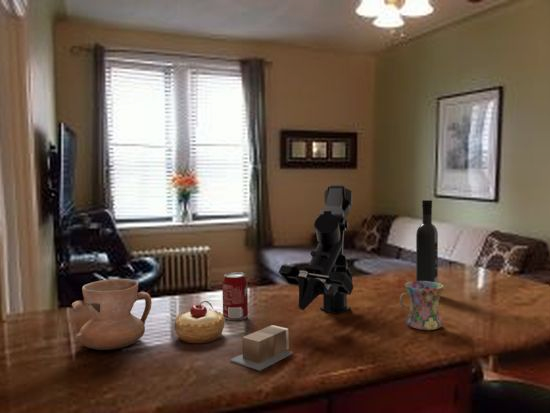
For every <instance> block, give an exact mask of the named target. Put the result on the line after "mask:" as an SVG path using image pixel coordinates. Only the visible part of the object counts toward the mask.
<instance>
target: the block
mask: <svg viewBox="0 0 550 413" xmlns="http://www.w3.org/2000/svg"><path fill="white" fill-rule="evenodd" d="M289 336H290V335H289V328H287V327H283V326H278V325H275V324H274V325H273V324H271V325H269V326H266V327H264V328H262V329H259V330H257V331H255V332H252V333H249V334H247V335H244V336H242V339H241V341H242V342H241V343H242V344H241V345H242V354H243V359H247V360H250V361H253V362H256V363H261V362H263V361H265V360H267V359H269V358H271V357H273V356H275V355H277V354H279V353H281V352H283V351H285V350H287V351H288V350H289V348H290V344H289V342H290V341H289V340H290V339H289Z"/></svg>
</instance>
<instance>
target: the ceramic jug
mask: <svg viewBox="0 0 550 413" xmlns="http://www.w3.org/2000/svg"><path fill="white" fill-rule="evenodd" d="M138 290H139V281H137V280H136V279H131V278H115V279H114V278H110V279H103V280H98V281H97V280H96V281H93V282H92V281H91V282H90V283H87V284H84V285H83V286H82V288H81V291H82V296H83V300H75V301H74V302H72V304H71V306H72V307H73V309H74V310H76V309H78V308H83V309H85V310H87V311H89V313H90V314H91V316H92V318H90V319H89V320H88V321H87V322H86V323H85V324H84V325H83V326H82V327H81V328H80V329H79V332H78V333H77V335H76V338H77V340H78V342H79V343H81V344H82V345H83V346H85V347H87V348H89V349H92V350H97V351H109V350H111V351H112V350H117V349H122V348H125V347H127V346H131V345H132V344H134V343H136V342H138V341H139V340H140V339H141V338H142V337H143V336H144V334H145V333H146V332H145V331H146V327H145V325H146V321H147V318H148V317H149V314H150V311H151V309H152V303H153V302H152V297H151V295H150V294H149V293H148V292H145V291H140V292H138ZM141 298H143V299H144V302H145V303H144V304H145V305H144V311H143V312H142V316H141V317H140V318H139V317H137V316H135V315H134V314H132V313H131V311H132V309H133V307H134V305H135V303H136V302H137V301H138V300H139V299H141Z"/></svg>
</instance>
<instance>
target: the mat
mask: <svg viewBox="0 0 550 413" xmlns="http://www.w3.org/2000/svg"><path fill="white" fill-rule="evenodd" d="M293 353H294V352H293V351H291V350H288V349H287V350H285V351H283V352H281V353H279V354H277V355H275V356H273V357H271V358H269V359H267V360H265V361H263V362H261V363H256V362H253V361H250V360H247V359H243V353H242V354H240V355H237V356H234V358H231V359H230V362H231V363H234V364H237V365H240V366H244V367H247V368H250V369H253V370H256V371H260V372H261V371H262V370H265V369H266V368H268V367H270V366H272V365H274V364H275V363H277V362H280V361H281V360H284V359H285V358H287V357H290V356H291V355H293Z"/></svg>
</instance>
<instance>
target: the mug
mask: <svg viewBox="0 0 550 413" xmlns="http://www.w3.org/2000/svg"><path fill="white" fill-rule="evenodd" d="M404 287H405V289H406V292H403V293H401V294H400V295H399V297H398V298H399V300H398V301H399V303H400V305H401V307H402V309H403V310H404V311H405V312H407V313H408V317H407V319H406V324H407V325H408V326H409V327H411V328H413V329H415V330H421V331H433V330H437V329H440V328H441V327H442V325H443V324H442V321H441V318H440V315H439V314H440V313H439V303H440V299H441V296H442V295H441V294H442V292H443V290H444V288H445V286H444V285H443V284H442V283H440V282H438V283H436V282H430V281H416V280H413V281H409V282H406V283H404ZM406 295H408V300H409V309H408V308H406V306H405V305H404V302H403V297H404V296H406Z"/></svg>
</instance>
